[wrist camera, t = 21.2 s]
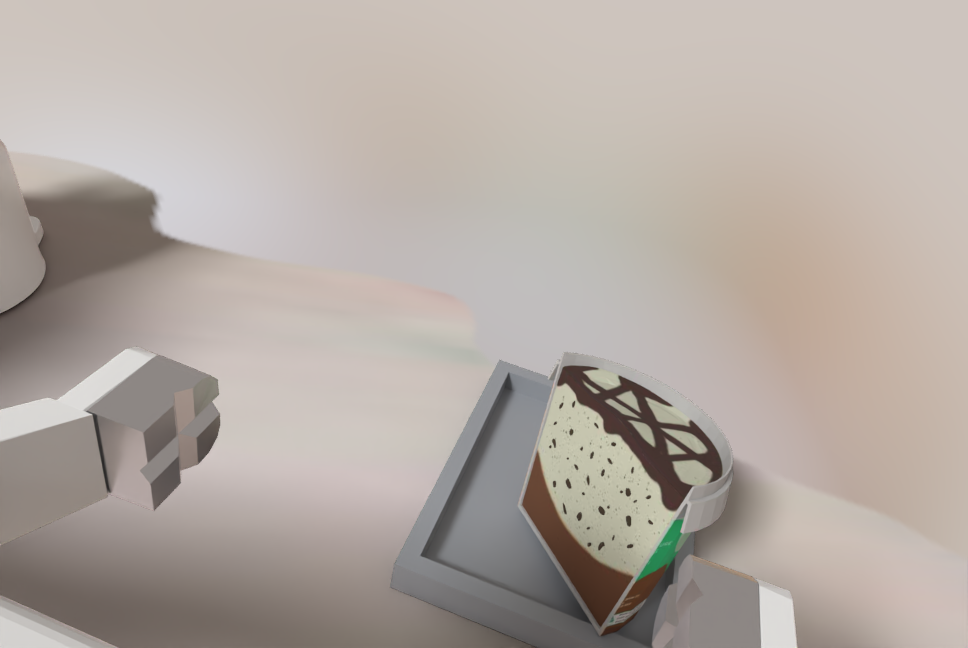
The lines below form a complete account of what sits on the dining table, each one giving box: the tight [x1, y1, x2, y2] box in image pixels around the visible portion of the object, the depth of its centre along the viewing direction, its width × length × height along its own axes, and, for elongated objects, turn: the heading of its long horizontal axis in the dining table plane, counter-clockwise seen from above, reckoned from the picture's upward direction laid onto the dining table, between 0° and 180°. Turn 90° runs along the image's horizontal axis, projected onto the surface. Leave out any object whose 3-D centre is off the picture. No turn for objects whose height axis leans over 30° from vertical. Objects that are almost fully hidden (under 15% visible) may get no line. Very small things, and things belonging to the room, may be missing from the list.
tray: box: [390, 360, 695, 648], centre depth 42 cm, size 15×19×2 cm
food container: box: [517, 352, 733, 636], centre depth 36 cm, size 12×6×10 cm, turn 22°
